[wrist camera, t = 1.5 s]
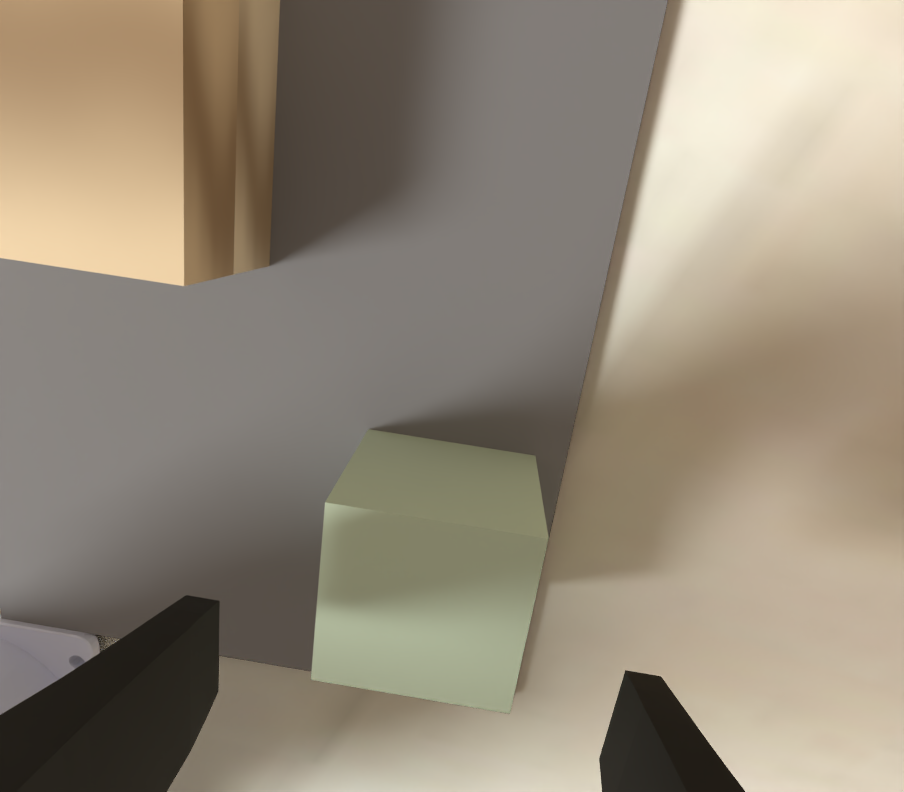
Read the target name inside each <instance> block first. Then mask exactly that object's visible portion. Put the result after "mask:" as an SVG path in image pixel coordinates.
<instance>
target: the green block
mask: <svg viewBox="0 0 904 792" xmlns="http://www.w3.org/2000/svg"><path fill="white" fill-rule="evenodd" d="M548 540H549V538H548V531H547V525H546V519H545V513H544V506H543V500H542V494H541V488H540V482H539V475H538V469H537V463H536V457H535V456H534V455H528V454H522V453H515V452H509V451H503V450H496V449H490V448H484V447H478V446H471V445H465V444H459V443H452V442H446V441H440V440H434V439H427V438H421V437H415V436H408V435H402V434H396V433H390V432H383V431H377V430H371V429H368V431H367V432H366V434H365V436H364V437H363V439H362V441H361V442H360V444H359V446H358V447H357V449H356V451H355V453H354V454H353V456H352V458H351V459H350V461H349V463H348V464H347V466H346V468H345V469H344V471H343V473H342V474H341V476H340V478H339V480H338V481H337V483H336V485H335V486H334V488H333V490H332V491H331V493H330V495H329V496H328V498H327V500H326V501H325V509H324V521H323V534H322V546H321V559H320V571H319V584H318V596H317V609H316V621H315V634H314V646H313V659H312V671H311V680H315V681H320V682H326V683H332V684H338V685H344V686H349V687H355V688H361V689H367V690H373V691H379V692H384V693H390V694H396V695H402V696H408V697H414V698H419V699H425V700H431V701H437V702H443V703H449V704H454V705H460V706H466V707H472V708H478V709H484V710H489V711H495V712H501V713H507V714H510V711H511V707H512V702H513V698H514V693H515V689H516V684H517V680H518V675H519V670H520V666H521V661H522V657H523V652H524V648H525V643H526V639H527V634H528V630H529V625H530V621H531V616H532V612H533V607H534V603H535V598H536V594H537V589H538V585H539V580H540V576H541V571H542V567H543V562H544V558H545V553H546V549H547V544H548Z"/></svg>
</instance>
